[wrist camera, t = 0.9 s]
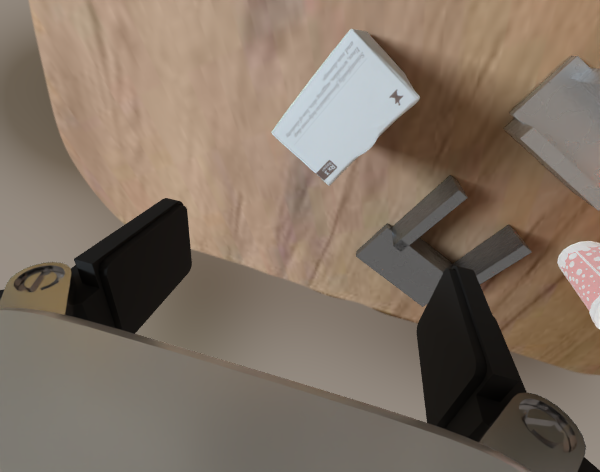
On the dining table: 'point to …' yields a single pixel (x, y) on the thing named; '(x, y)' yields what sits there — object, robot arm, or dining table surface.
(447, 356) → the robot arm
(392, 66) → the skincare box
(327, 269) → the dining table surface
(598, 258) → the beverage cup
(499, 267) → the fixed leaf
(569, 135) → the gray u-channel trough
